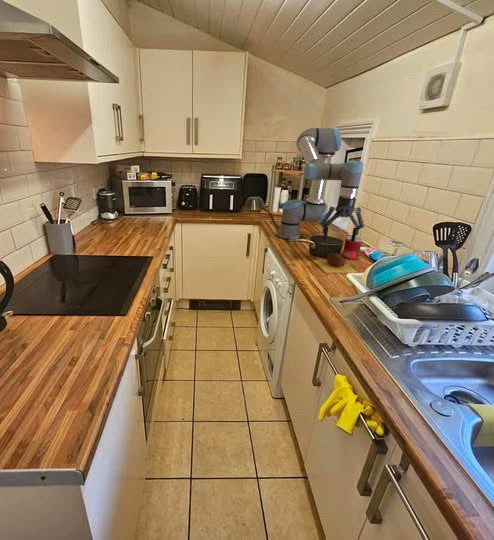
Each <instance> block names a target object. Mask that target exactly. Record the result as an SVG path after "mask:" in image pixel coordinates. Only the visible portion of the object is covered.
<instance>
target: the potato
mask: <svg viewBox="0 0 494 540" xmlns="http://www.w3.org/2000/svg"><path fill="white" fill-rule="evenodd" d="M325 258H326V259H325V260H327V261H328V263H329V264H330V265H332V266H334V267H342V266H344V265H345V264H346V263H347V262H346V259H345V258H344V257H343V256H341V255H340V254H339V253H338V252H329V253H327V254H326V256H325Z"/></svg>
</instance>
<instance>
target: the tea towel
mask: <svg viewBox="0 0 494 540" xmlns="http://www.w3.org/2000/svg"><path fill="white" fill-rule="evenodd" d="M312 261H313V263H314V264H315V265H317V266H318V267H319V269H321V271H323V272H324V273H325V274H331V273H332V274H335V273H337V274H339V273H343V274H344V273H345V274H347V273H358V270H356V269H355V268H353V267H352V266H350V265H349V264H348V263H347V262H346V264H345V265H344V266H342V267H334V266H332V265H330V264H329V263H328V261H327V260H326V259H312Z"/></svg>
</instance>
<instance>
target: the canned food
mask: <svg viewBox="0 0 494 540" xmlns="http://www.w3.org/2000/svg"><path fill="white" fill-rule="evenodd" d="M351 238H352V235H347V236H346V237H345V239H344V240H345V241H344V245H343V250H342V254H341V255H342V258H343V259H345V260H351V261H355V260H357V259H358V258H359V255H360V251H361V247H362V242H363V238H361V237H359V236H356V238H355V242H352V241H351Z"/></svg>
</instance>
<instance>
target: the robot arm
mask: <svg viewBox="0 0 494 540" xmlns="http://www.w3.org/2000/svg"><path fill="white" fill-rule="evenodd" d="M341 146H342V134H341V131H340V129H338V128H333V127H332V128H331V127H329V128H328V127H327V128H325V127H324V128H322V127H321V128H320V127H318V128H317V127H309V128H307V129H305V130H303V131H302V132H301V133H300V134H299V135H298V137H297V140H296V148H297V151H298V152H300V153H301V156H302V158H303V161H304V163H305V165H304V169H303V176H304V177H303V178H304V179H305V180H311V183H310V190H309V195H308V197H307V198H306V199H305V202H303V200H302V199H288V200H286V201H284V202H283V204H282V208H281V209H282V211H281V219H280V220H281V221H280V224H279V225H278V224H277V223H276V221H275V220H274V219H275V218H274V217H273V215H272V213H271V212H270V211H269V210H268V209H266V207H264V206H262V207H261V209H264V210H265V211H266V212H267V213H269V215H270V216H271V220H272V222H273V223H274V225H275V226H276V227H277V228H278V229H277V231H276V237H278V238H280V239H285V240H299V239H300V238H301V236H302V234H301V233H302V232H301V228H300V224H301V223H300V222H312V223H313V222H314V223H316V222H317V223H318V222H319V225H320V226H321V227H322V232H321V233H322V234H323V237H322V240H323V242H327V240H328V239H327V238H328V232H329V227H330V225H331V224H332V223H334V221H336V220H337V219H339V218H349V219H350V221H351V222H352V224H353V226H354V227H353V229H352V233H351V236H352V238H351V241H352V242H355V238H356V237H357V236H358V235H359V232H360V230H361V229H364V228H365V224H364V220H363V216H362V208H360V207H359V206H357V207H355V206H356V201H357V196H358V193H359V187H360V183H361V179H362V174H363V171H364V162H363V161H360V160H347V161H346V162H345V163H344V162H341V163H331V162H332V158H333V157H335V155H336V152H339V150H340V148H341ZM328 181H341V183H340V189H339V194H338V195H339V197H338V198H337V205H336V206H332V205H330V206H329V209H328V204H327V203H326V200H325V199H324V197H325V192H326V187H327V182H328ZM263 207H264V208H263ZM335 211H336V212H335ZM334 212H335V213H334ZM354 212H355V215H356V217H357V220H356V218H355V217H354V215H353V214H354ZM333 213H334V214H333ZM357 221H358V222H357Z"/></svg>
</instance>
